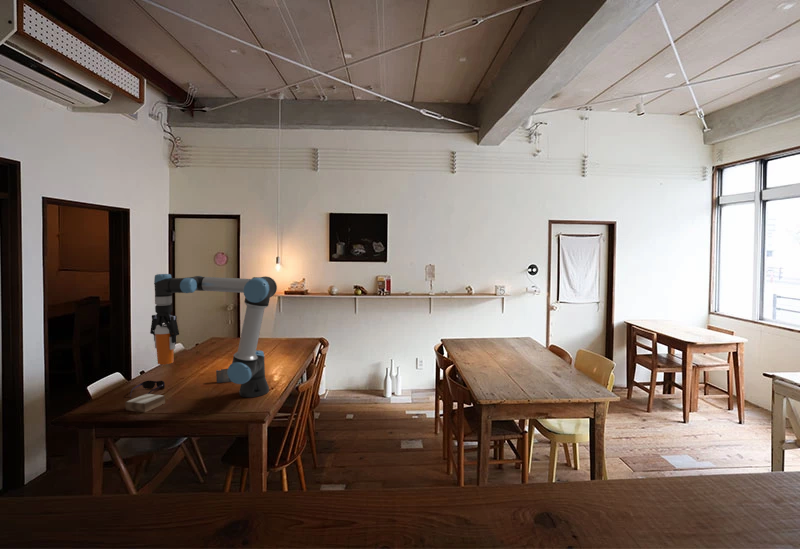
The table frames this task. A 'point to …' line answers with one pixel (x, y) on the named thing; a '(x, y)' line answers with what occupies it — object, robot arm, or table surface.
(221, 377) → the dark angular channel piece
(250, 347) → the robot arm
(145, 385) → the sunglasses
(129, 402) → the block
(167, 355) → the shaker bottle
